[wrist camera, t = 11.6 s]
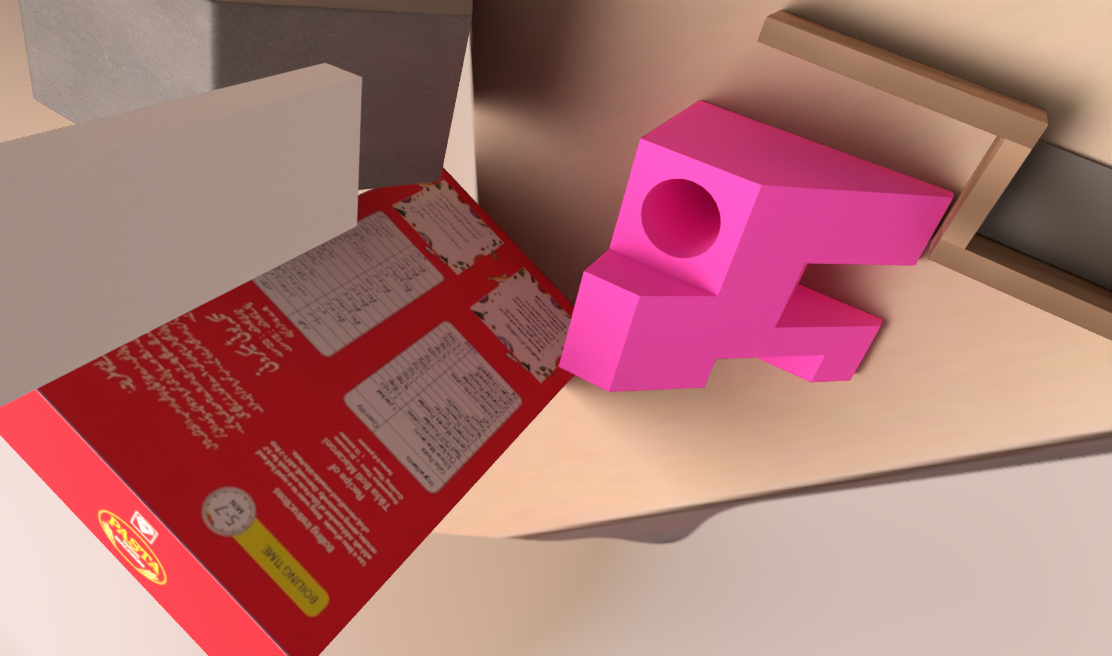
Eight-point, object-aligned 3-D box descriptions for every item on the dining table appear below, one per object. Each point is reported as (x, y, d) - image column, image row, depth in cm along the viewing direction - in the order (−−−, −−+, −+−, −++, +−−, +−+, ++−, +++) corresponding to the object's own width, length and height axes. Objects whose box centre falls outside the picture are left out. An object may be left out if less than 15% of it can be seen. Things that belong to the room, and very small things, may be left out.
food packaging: (398, 215, 48) (-11, 424, 28) (436, 160, 44) (2, 354, 25) (556, 382, 48) (255, 704, 28) (605, 340, 44) (303, 672, 25)
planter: (155, -3, 43) (-40, 159, 27) (147, -158, 38) (-93, -74, 22) (449, 67, 46) (434, 246, 30) (474, -66, 42) (472, 63, 26)
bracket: (642, 278, 42) (558, 366, 34) (700, 99, 36) (614, 154, 28) (852, 372, 38) (814, 494, 30) (954, 191, 32) (939, 284, 24)
